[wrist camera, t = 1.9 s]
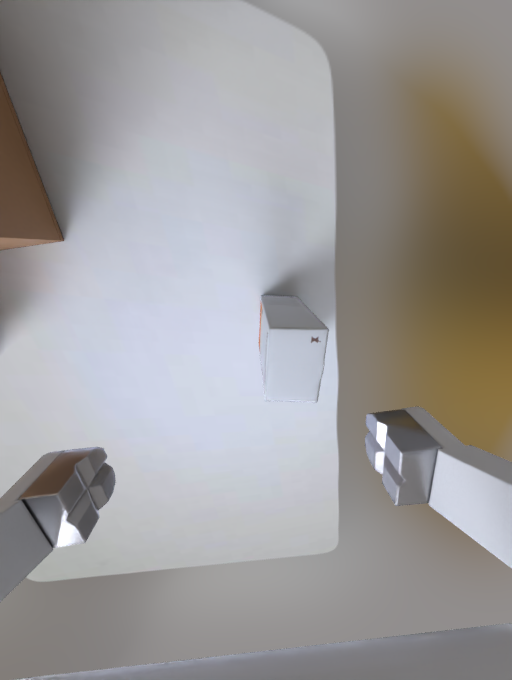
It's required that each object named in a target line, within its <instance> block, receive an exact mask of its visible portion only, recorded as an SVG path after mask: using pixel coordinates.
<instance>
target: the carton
mask: <svg viewBox="0 0 512 680" xmlns="http://www.w3.org/2000/svg"><path fill="white" fill-rule="evenodd" d="M60 241H64V239H63V237H62V234H61V231H60V229H59V226H58V223H57V221H56V218H55V215H54V213H53V210H52V208H51V205H50V202H49V200H48V197H47V194H46V192H45V189H44V186H43V184H42V181H41V179H40V176H39V173H38V171H37V168H36V165H35V163H34V160H33V157H32V155H31V152H30V149H29V147H28V144H27V142H26V139H25V136H24V134H23V131H22V128H21V126H20V123H19V120H18V118H17V115H16V113H15V110H14V107H13V105H12V102H11V99H10V97H9V94H8V91H7V89H6V86H5V83H4V81H3V78H2V76H1V73H0V250H6V249H12V248H19V247H26V246H33V245H40V244H47V243H53V242H60Z"/></svg>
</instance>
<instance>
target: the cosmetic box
mask: <svg viewBox="0 0 512 680" xmlns="http://www.w3.org/2000/svg"><path fill="white" fill-rule="evenodd" d="M328 332H329V329H328V328H327V327H326V326H325V325H324V324H323V323H322V322H321V321H320V320H319V319H318V318H317V316H316V315H315V314H314V313H313V312H312V311H311V310H310V309H309V308H308V307H307V306H306V305H305V304H304V303H303V302H302V301H301V300H300V299H299V298H298V297H297V296H269V295H261V310H260V331H259V351H260V360H261V370H262V379H263V388H264V397H265V401H285V402H312V403H316V402H317V401H318V396H319V389H320V383H321V378H322V374H323V370H324V360H325V352H326V345H327V338H328Z"/></svg>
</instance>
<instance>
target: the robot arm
mask: <svg viewBox="0 0 512 680" xmlns="http://www.w3.org/2000/svg"><path fill="white" fill-rule="evenodd" d="M366 426H367V427H368V429H369V430H370V431H369V432H368V434H367V435H366V436H365V446H366V451H367V455H368V458H369V460H370V463H371V464H372V466H373V468H374V469H375V470H376V471H378V472H379V473H381V474H382V475H383V480H382V483H383V485H384V487H385V489H386V490H387V492H388V494H389V495H390V497H391V499H392V501H393V502H394V504H395V506H400V505H412V504H423V503H429V506H431V507H432V508H433V509H435V510H436V511H437V512H439V513H440V514H441V515H443V516H444V517H445V518H447V519H448V520H449V521H450V522H452V523H453V524H454V525H456V526H457V527H458V528H460V529H461V530H462V531H463V532H465V533H466V534H467V535H469V536H470V537H471V538H473V539H474V540H476V541H477V542H478V543H479V544H480V545H482V546H483V547H485V548H486V549H487V550H488V551H490V552H491V553H492V554H494V555H495V556H496V557H497V558H499V559H500V560H501V561H503V562H504V563H505V564H507V565H508V566H509V567H511V568H512V462H510V461H508V460H505V459H503V458H500V457H498V456H495V455H493V454H490V453H489V452H486V451H484V450H481V449H479V448H477V447H474V446H472V445H469V446H465V445H464V444H463V443H461V442H460V441H459V440H458V439H457V438H456V437H455V436H454V435H452V434H451V433H450V432H449V431H448V430H447V429H446V428H445V427H444V426H442V425H441V424H440V423H439V422H438V421H437V420H436V419H435V418H433V417H432V416H431V415H430V414H429V413H428V412H426V410H424V409H423V408H421V407H419V406H417V407H410V408H403V409H401V410H392V411H384V412H376V413H369V414H367V417H366ZM106 459H107V455H106V453H105V451H104V449H103V448H100V447H92V448H82V449H72V450H66V451H55V452H50V453H47V454H45V455H43V456H42V457H41V458H40V459H39V460H38V461H37V462H36V463H35V464H34V465H33V466H32V467H31V468H30V469H29V470H28V471H27V472H26V473H25V474H24V475H23V476H22V477H21V478H20V479H19V480H18V481H17V482H16V483H15V484H14V485H13V486H12V487H11V488H10V489H9V490H8V491H7V492H6V493H5V494H4V495H3V496H2V497H1V498H0V602H1V601H2V600H3V599H4V598H5V597H6V596H7V595H8V594H9V593H10V592H11V591H12V590H13V589H14V588H15V587H16V586H17V585H18V584H19V583H20V582H21V581H22V580H23V579H24V578H25V577H26V576H27V575H28V574H29V573H30V572H31V571H32V570H33V569H34V568H35V567H36V566H37V565H38V564H39V563H40V562H41V561H42V560H43V559H44V558H46V557H47V556H48V555H49V554H50V553H51V552H52V551H53V548H55V547H62V546H68V545H75V544H82V543H85V542H86V541H87V539H88V537H89V535H90V533H91V532H92V530H93V528H94V526H95V524H96V523H97V521H98V519H99V509H100V508H101V507H103V506H104V505H105V504H106V503H107V502H108V501H109V499H110V497H111V495H112V493H113V490H114V486H115V473H114V471H113V468H112V467H111V466H109V465H108V464H106V463H105V461H106ZM12 680H512V623H508V624H498V625H490V626H481V627H472V628H463V629H454V630H445V631H437V632H428V633H419V634H410V635H401V636H392V637H383V638H375V639H366V640H357V641H348V642H339V643H330V644H321V645H312V646H304V647H295V648H286V649H277V650H269V651H260V652H250V653H242V654H233V655H224V656H215V657H206V658H198V659H189V660H180V661H171V662H162V663H153V664H145V665H136V666H126V667H118V668H109V669H100V670H91V671H83V672H74V673H65V674H56V675H48V676H39V677H30V678H21V679H12Z"/></svg>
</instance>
